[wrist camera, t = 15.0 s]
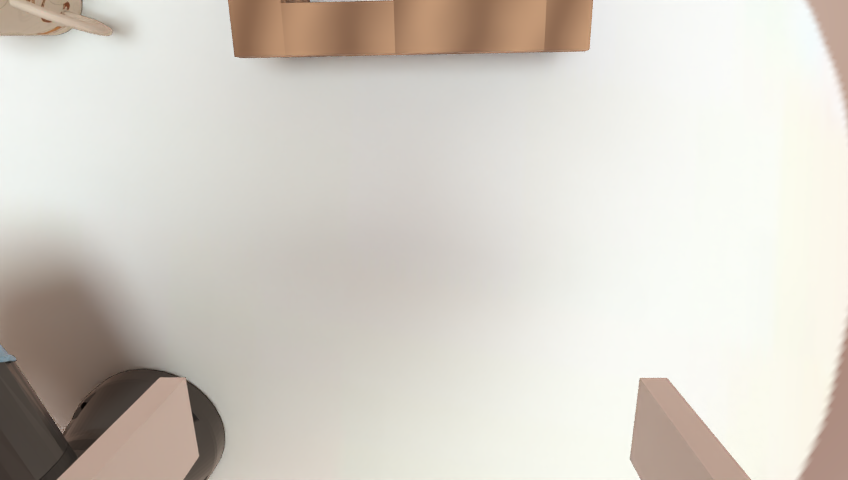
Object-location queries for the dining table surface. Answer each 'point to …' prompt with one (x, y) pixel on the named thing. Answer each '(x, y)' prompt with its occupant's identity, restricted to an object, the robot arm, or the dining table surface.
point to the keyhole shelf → (407, 27)
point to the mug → (46, 18)
